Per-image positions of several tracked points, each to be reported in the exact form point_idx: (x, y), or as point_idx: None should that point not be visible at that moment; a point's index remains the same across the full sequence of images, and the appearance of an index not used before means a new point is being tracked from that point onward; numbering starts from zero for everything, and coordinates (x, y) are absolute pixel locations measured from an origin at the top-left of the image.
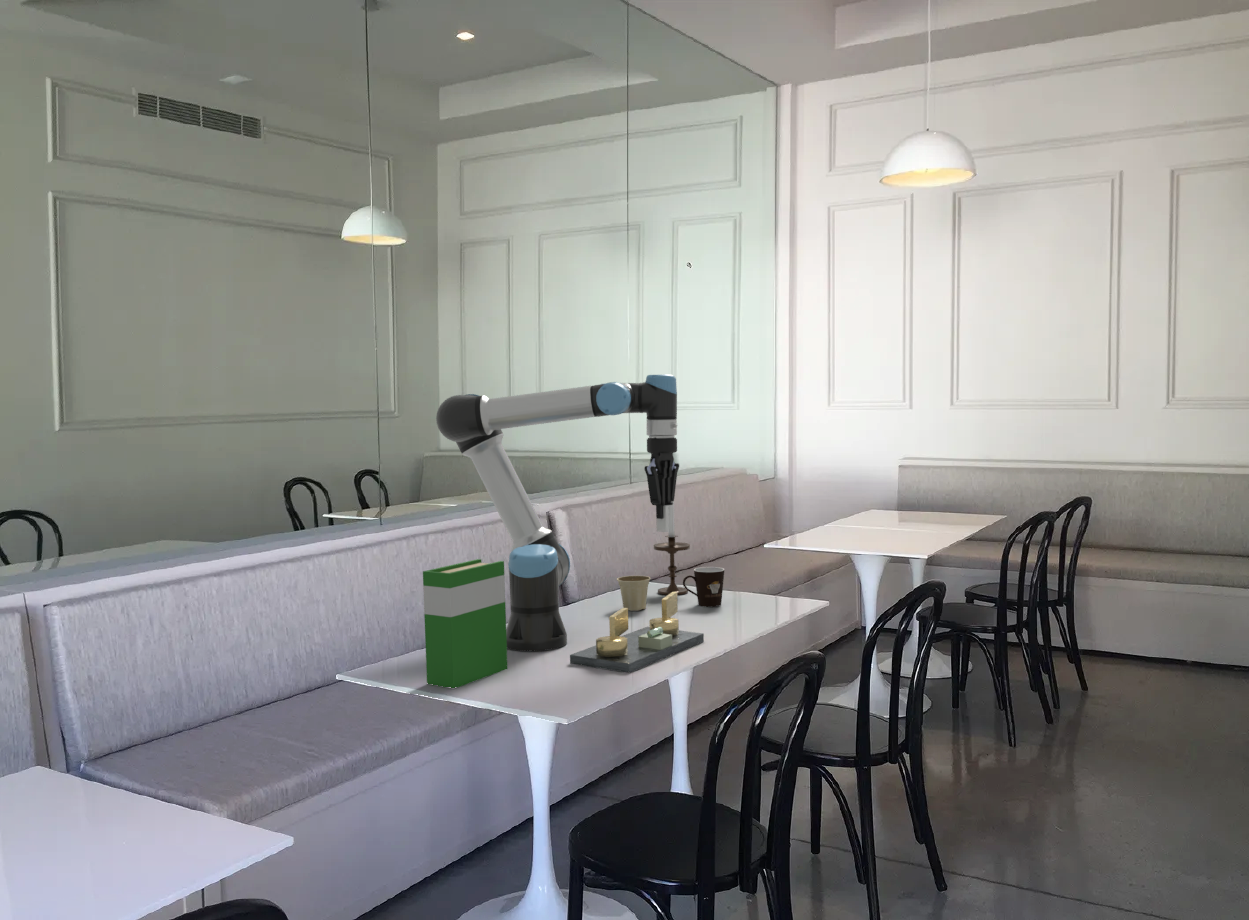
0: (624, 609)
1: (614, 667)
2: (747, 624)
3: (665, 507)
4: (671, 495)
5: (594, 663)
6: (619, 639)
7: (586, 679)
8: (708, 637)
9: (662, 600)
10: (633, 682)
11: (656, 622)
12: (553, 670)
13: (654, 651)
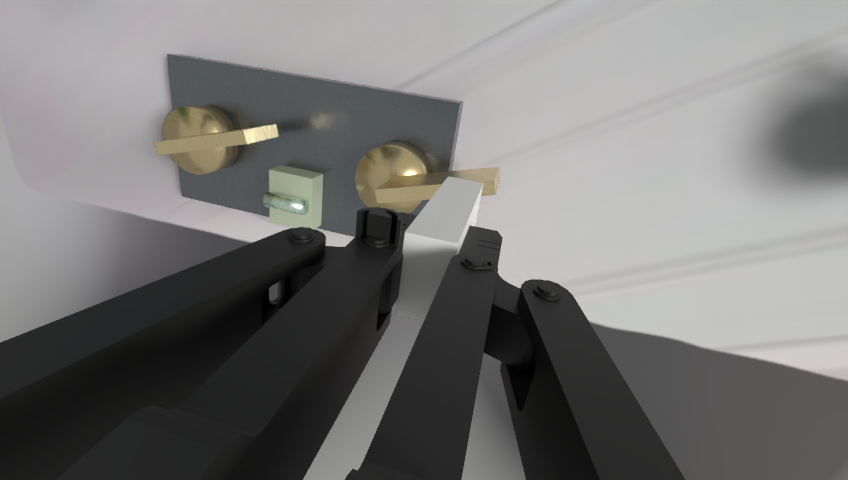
0: (230, 142)
1: None
2: (636, 298)
3: (397, 307)
4: (508, 390)
5: None
6: (199, 157)
7: (130, 139)
8: None
9: (376, 191)
10: (160, 218)
11: (364, 173)
12: (134, 48)
13: (266, 208)
